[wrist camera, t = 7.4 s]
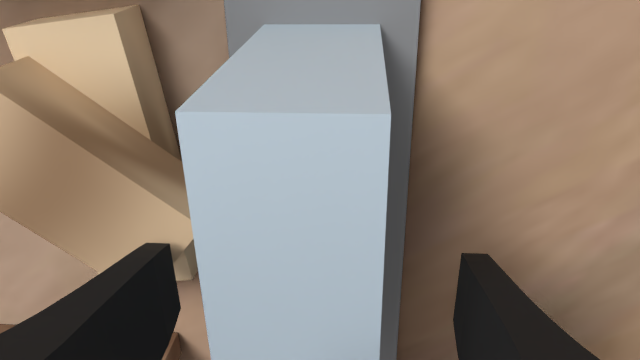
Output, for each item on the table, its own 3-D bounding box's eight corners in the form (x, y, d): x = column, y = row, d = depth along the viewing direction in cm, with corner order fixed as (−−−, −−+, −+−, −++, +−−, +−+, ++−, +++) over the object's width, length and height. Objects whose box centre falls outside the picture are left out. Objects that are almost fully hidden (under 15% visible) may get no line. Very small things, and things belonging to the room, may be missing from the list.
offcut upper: (222, 189, 14) (202, 227, 13) (169, 257, 16) (144, 300, 14) (28, 55, 13) (-25, 76, 11) (-13, 139, 14) (-68, 170, 13)
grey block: (394, 373, 19) (394, 382, 19) (260, 366, 20) (258, 375, 19) (421, -36, 13) (423, -35, 13) (224, -34, 13) (220, -33, 13)
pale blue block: (368, 347, 18) (369, 570, 12) (283, 343, 18) (240, 560, 12) (379, 24, 13) (391, 114, 7) (264, 24, 13) (175, 111, 7)
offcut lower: (210, 244, 18) (192, 280, 16) (128, 249, 18) (102, 285, 16) (145, 2, 14) (113, 13, 13) (46, 16, 15) (1, 28, 13)
